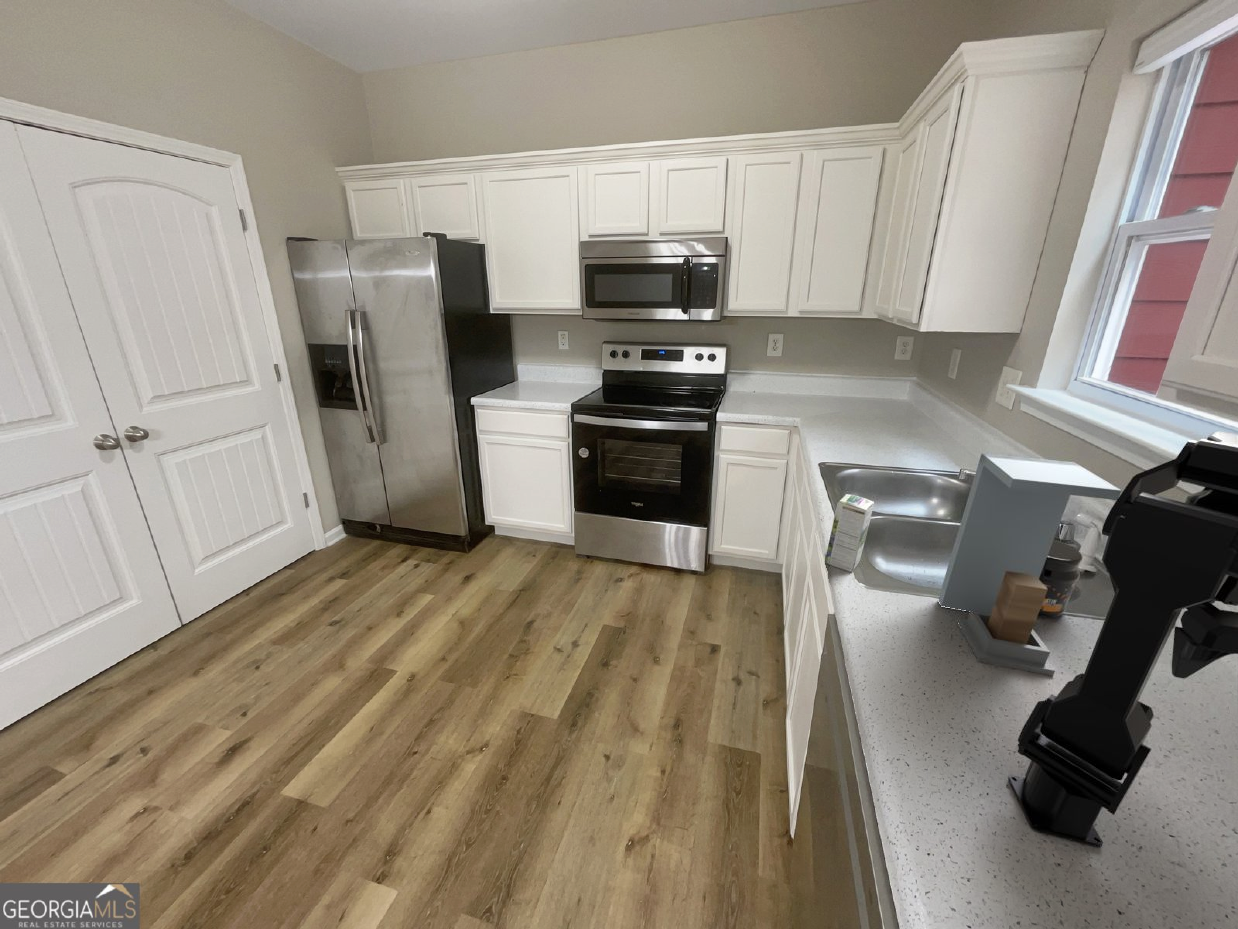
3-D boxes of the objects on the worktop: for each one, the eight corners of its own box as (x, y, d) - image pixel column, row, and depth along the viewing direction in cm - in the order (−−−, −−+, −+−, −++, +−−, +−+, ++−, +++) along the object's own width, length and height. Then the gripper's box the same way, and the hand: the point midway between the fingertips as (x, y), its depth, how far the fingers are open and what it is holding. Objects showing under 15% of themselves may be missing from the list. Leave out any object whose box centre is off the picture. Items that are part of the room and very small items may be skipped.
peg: (1023, 653, 80) (1047, 589, 75) (994, 647, 81) (1017, 584, 76) (1012, 637, 83) (1035, 575, 79) (984, 632, 84) (1005, 570, 80)
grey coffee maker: (1051, 660, 80) (1121, 490, 69) (959, 643, 83) (1013, 478, 73) (1017, 614, 90) (1074, 462, 80) (937, 601, 94) (981, 452, 83)
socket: (1053, 676, 76) (1060, 657, 75) (978, 661, 79) (984, 643, 78) (1023, 634, 85) (1029, 617, 84) (957, 622, 88) (962, 606, 87)
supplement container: (998, 609, 92) (1018, 552, 88) (989, 580, 101) (1007, 527, 97) (1070, 627, 87) (1095, 568, 83) (1055, 596, 96) (1077, 541, 92)
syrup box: (832, 553, 110) (844, 492, 104) (861, 562, 106) (875, 500, 101) (824, 563, 105) (836, 500, 100) (853, 573, 102) (867, 509, 97)
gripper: (1390, 602, 47) (1306, 726, 53) (1227, 517, 64) (1176, 618, 69) (1240, 581, 50) (1175, 701, 55) (1121, 505, 67) (1080, 603, 72)
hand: (1151, 650), depth 63 cm, fingers open, 9 cm apart
